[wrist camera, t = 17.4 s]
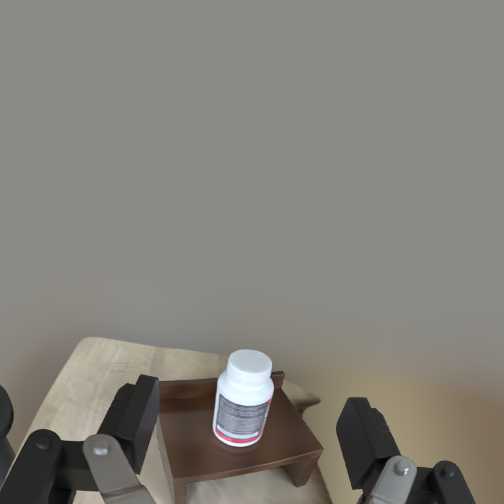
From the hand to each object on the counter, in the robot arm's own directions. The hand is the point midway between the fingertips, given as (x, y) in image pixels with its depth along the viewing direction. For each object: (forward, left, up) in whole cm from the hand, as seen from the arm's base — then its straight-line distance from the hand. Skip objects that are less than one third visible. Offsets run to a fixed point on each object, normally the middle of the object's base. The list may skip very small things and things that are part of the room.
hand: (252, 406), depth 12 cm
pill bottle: (+6, +13, -17) cm, 22 cm away
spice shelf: (+6, +13, -25) cm, 29 cm away
